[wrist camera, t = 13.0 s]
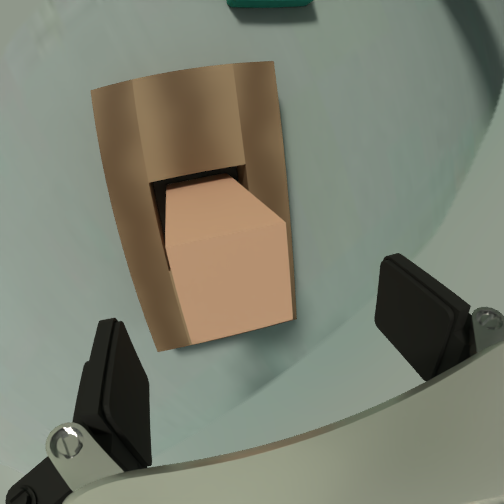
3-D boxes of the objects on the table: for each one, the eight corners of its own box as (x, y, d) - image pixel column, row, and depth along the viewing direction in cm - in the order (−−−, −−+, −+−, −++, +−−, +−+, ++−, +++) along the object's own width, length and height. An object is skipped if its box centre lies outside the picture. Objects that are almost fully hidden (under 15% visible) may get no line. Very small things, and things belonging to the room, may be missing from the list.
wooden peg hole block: (260, 68, 23) (273, 61, 20) (284, 300, 32) (296, 318, 29) (100, 94, 20) (90, 90, 17) (157, 329, 30) (157, 351, 26)
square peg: (226, 172, 26) (285, 222, 13) (234, 228, 28) (292, 319, 15) (166, 184, 25) (165, 247, 12) (178, 241, 27) (192, 344, 14)
